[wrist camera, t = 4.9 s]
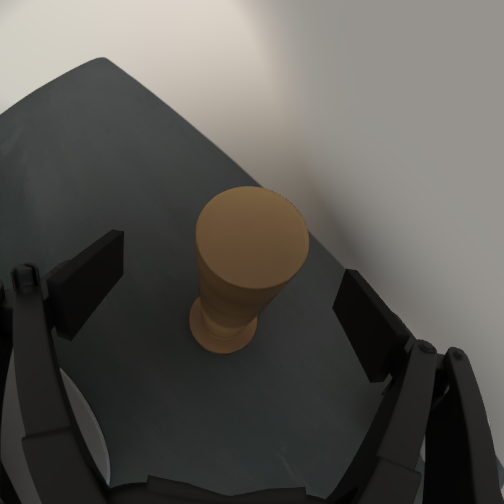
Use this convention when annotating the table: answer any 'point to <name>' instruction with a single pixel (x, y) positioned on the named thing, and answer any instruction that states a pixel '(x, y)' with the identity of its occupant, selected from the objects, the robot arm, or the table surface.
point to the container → (12, 430)
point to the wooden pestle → (243, 263)
